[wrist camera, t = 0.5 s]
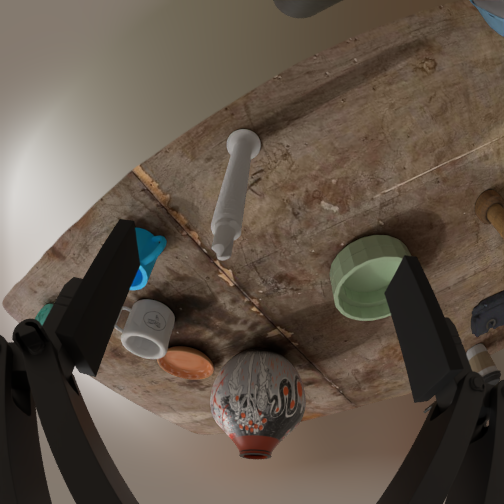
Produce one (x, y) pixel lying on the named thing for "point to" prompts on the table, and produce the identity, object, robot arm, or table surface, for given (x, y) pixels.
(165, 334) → the mug
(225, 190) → the screw
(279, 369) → the vase
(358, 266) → the bowl
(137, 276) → the mug
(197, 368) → the saucer
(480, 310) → the dark slate chunk
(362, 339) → the table surface
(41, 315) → the decorative dice
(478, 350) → the coffee cup
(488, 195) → the mortar and pestle
